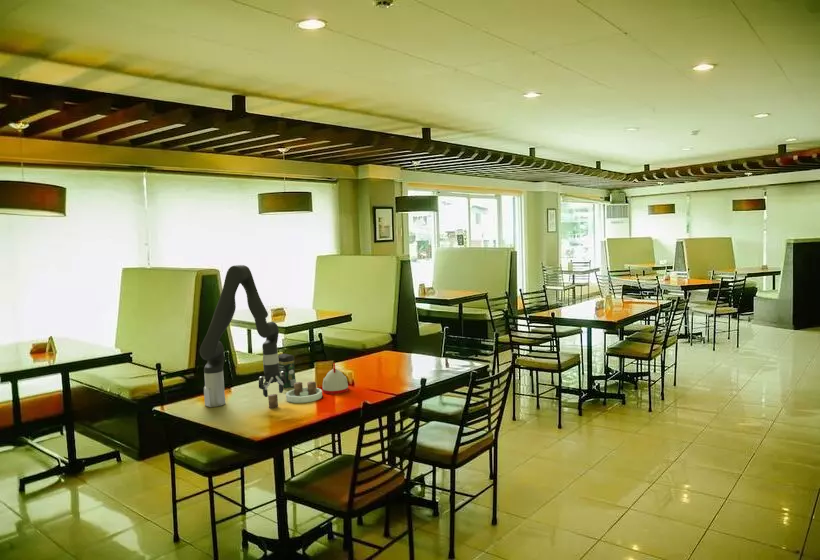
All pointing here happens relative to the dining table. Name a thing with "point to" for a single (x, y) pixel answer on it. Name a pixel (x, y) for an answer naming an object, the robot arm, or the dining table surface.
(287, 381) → the coffee jar
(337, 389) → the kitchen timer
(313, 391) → the bead
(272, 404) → the brown short cylinder
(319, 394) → the tray
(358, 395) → the dining table surface
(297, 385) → the bead
